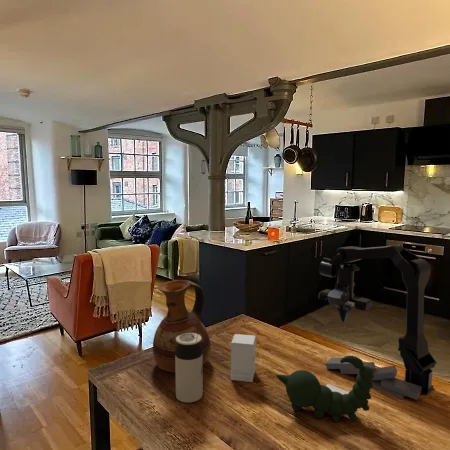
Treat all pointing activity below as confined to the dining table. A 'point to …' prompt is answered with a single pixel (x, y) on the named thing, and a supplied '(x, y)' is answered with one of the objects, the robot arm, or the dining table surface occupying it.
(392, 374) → the tile
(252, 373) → the supplement box
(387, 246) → the robot arm
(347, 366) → the tile
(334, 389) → the tile
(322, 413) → the toy figurine
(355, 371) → the tile
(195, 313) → the ceramic pitcher
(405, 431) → the dining table surface
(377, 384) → the tile
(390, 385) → the grey block
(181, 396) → the travel mug
